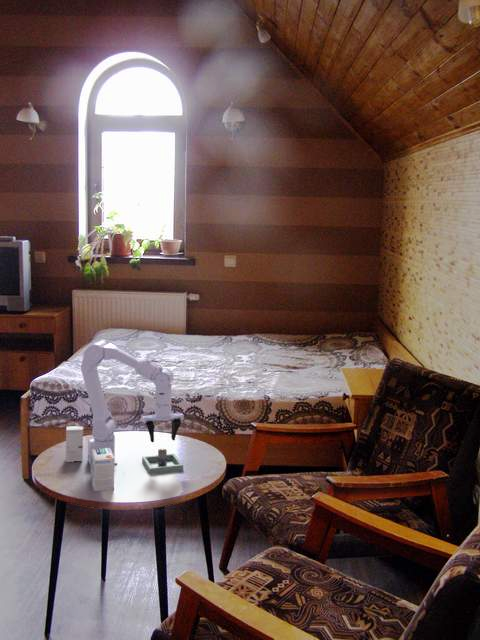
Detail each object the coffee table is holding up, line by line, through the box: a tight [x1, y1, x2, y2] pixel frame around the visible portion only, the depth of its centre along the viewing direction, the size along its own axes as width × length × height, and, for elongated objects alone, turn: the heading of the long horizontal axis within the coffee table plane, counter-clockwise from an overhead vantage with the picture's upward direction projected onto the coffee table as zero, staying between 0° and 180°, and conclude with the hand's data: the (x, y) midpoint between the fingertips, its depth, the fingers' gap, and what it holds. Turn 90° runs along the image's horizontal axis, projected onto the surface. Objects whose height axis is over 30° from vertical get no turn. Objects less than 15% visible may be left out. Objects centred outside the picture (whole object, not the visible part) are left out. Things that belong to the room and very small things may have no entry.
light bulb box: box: [90, 448, 115, 492], centre depth 218 cm, size 11×7×11 cm, turn 19°
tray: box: [141, 453, 184, 475], centre depth 236 cm, size 12×12×2 cm
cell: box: [157, 448, 168, 467], centre depth 235 cm, size 3×3×6 cm
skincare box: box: [65, 425, 84, 463], centre depth 239 cm, size 6×4×12 cm
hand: (162, 440), depth 235 cm, fingers open, 7 cm apart
